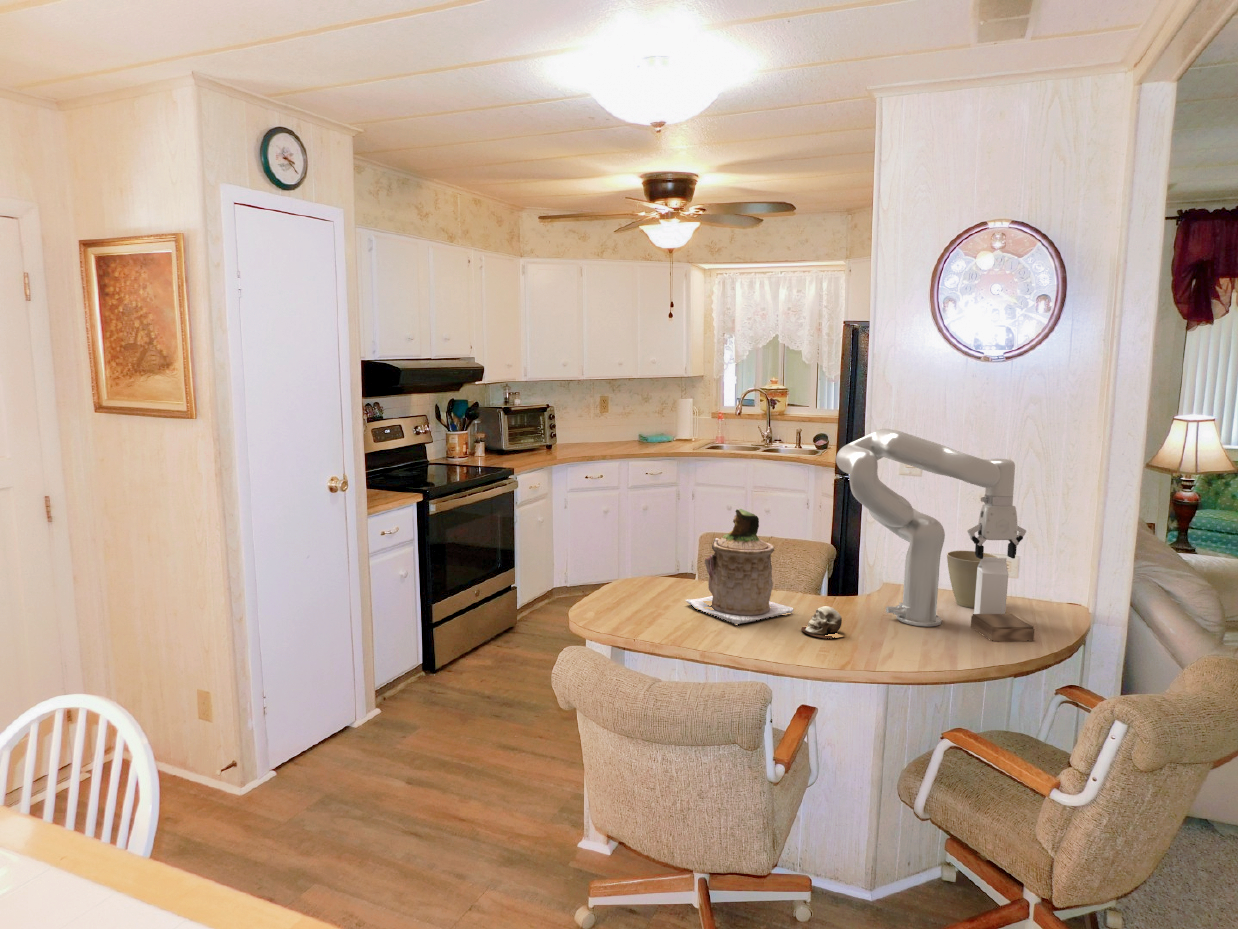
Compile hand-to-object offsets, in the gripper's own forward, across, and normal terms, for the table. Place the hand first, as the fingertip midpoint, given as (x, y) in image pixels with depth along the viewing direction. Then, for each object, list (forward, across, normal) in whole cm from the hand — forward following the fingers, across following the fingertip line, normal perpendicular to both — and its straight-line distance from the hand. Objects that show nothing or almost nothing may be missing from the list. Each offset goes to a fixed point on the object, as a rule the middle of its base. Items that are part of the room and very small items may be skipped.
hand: (995, 557), depth 245 cm
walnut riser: (+19, -4, -13) cm, 23 cm away
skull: (+18, -55, -12) cm, 59 cm away
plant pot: (+19, 0, +15) cm, 24 cm away
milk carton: (+19, -1, 0) cm, 19 cm away
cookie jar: (+18, -75, +9) cm, 77 cm away
